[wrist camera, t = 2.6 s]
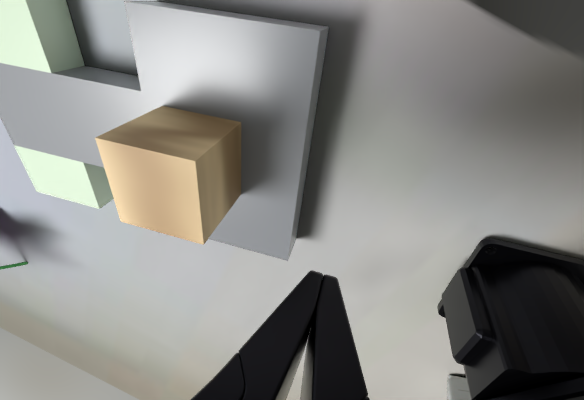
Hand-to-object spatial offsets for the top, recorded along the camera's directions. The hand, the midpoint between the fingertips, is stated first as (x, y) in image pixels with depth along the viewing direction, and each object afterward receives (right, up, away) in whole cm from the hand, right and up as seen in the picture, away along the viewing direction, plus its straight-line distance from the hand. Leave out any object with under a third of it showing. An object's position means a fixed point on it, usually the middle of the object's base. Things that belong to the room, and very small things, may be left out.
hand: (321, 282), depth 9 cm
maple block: (-5, +5, +6) cm, 9 cm away
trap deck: (-9, +7, +8) cm, 14 cm away
